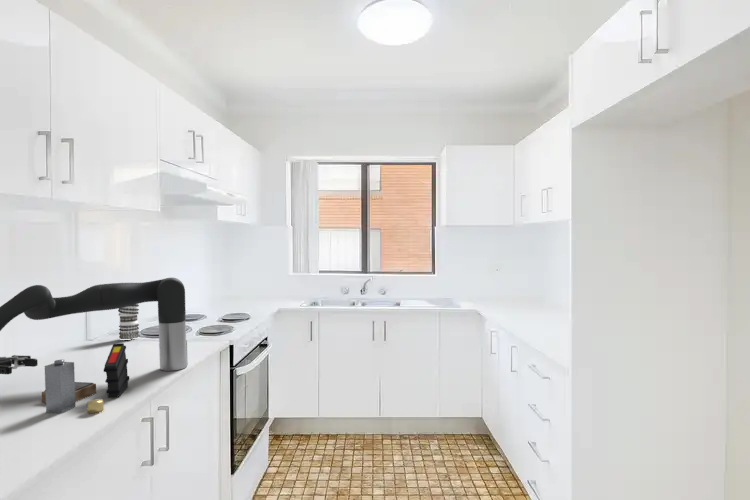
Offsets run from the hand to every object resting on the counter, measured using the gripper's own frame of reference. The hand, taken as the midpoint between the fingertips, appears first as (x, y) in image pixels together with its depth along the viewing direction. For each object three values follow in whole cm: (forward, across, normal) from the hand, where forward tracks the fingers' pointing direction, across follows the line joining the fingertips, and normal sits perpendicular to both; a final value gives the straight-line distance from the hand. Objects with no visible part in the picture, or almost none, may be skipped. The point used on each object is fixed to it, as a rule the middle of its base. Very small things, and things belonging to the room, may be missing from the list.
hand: (23, 366), depth 145 cm
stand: (+6, -10, -12) cm, 17 cm away
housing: (+12, 0, -12) cm, 17 cm away
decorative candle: (-35, -92, -12) cm, 99 cm away
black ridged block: (+18, -16, -12) cm, 27 cm away
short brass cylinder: (+23, 0, -12) cm, 26 cm away
